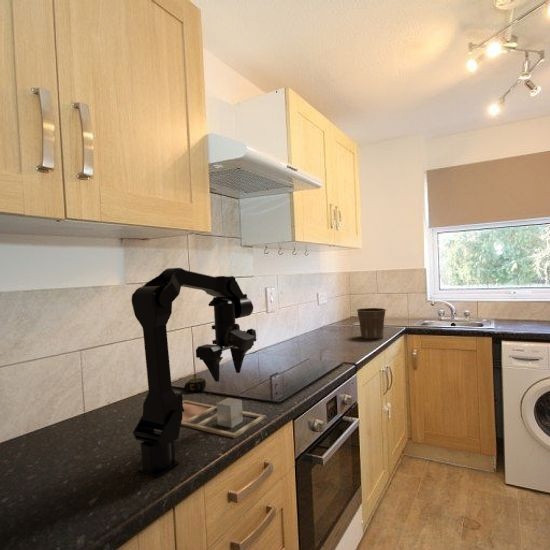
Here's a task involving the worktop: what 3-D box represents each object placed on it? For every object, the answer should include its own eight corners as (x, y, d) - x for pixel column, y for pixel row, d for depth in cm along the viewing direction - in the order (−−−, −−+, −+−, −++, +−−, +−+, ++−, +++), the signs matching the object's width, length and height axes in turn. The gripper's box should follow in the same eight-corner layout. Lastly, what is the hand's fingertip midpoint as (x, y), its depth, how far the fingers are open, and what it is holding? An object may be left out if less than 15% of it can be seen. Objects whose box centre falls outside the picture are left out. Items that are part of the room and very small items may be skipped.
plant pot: (390, 335, 220) (388, 307, 219) (383, 340, 206) (381, 311, 205) (362, 334, 228) (361, 307, 228) (354, 339, 214) (352, 311, 214)
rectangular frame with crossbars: (234, 438, 96) (234, 435, 96) (149, 417, 113) (149, 415, 113) (266, 417, 108) (266, 415, 108) (184, 401, 125) (184, 399, 125)
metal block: (231, 428, 102) (230, 406, 102) (217, 424, 105) (216, 403, 105) (243, 421, 106) (241, 400, 106) (229, 418, 109) (228, 397, 109)
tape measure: (191, 387, 142) (190, 377, 142) (209, 387, 140) (208, 377, 140) (184, 393, 135) (183, 382, 135) (202, 393, 134) (201, 382, 134)
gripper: (226, 327, 93) (229, 390, 93) (267, 317, 109) (270, 371, 109) (192, 325, 99) (196, 385, 99) (236, 316, 115) (239, 368, 115)
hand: (227, 377), depth 105 cm, fingers open, 9 cm apart
